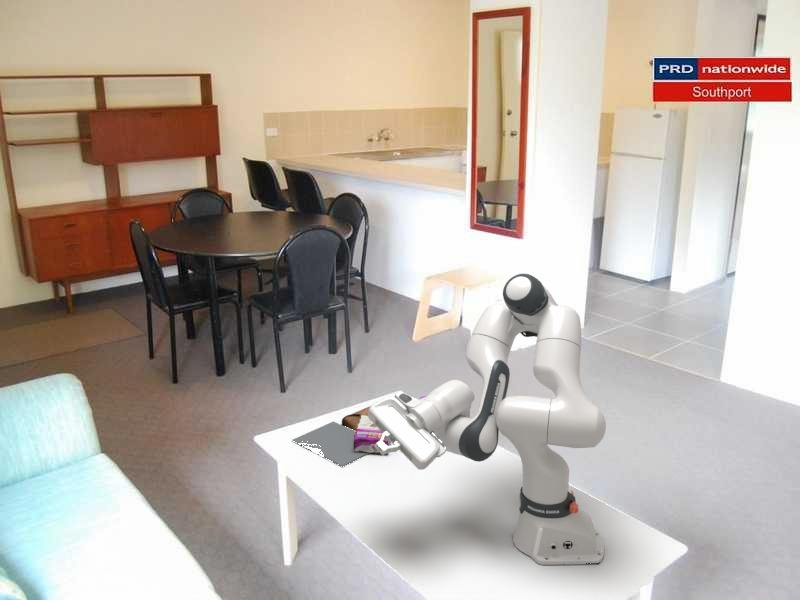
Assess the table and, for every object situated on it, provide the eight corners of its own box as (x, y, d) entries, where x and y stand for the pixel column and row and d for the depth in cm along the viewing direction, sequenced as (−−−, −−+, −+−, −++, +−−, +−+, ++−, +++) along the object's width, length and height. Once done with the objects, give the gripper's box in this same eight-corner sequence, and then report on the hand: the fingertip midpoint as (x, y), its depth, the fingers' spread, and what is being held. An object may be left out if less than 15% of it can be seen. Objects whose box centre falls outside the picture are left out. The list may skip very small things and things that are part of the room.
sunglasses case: (358, 433, 233) (351, 414, 234) (346, 437, 238) (339, 418, 239) (396, 415, 246) (388, 397, 246) (383, 419, 251) (376, 402, 251)
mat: (383, 446, 225) (383, 444, 225) (342, 467, 212) (342, 465, 212) (333, 422, 240) (333, 421, 240) (292, 441, 228) (291, 439, 228)
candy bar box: (388, 455, 219) (393, 429, 234) (388, 441, 217) (394, 416, 233) (352, 452, 220) (360, 427, 235) (352, 438, 218) (360, 414, 234)
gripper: (447, 455, 171) (406, 487, 164) (392, 401, 181) (351, 428, 174) (452, 441, 167) (409, 473, 160) (395, 386, 176) (352, 414, 169)
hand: (378, 449), depth 167 cm, fingers closed
